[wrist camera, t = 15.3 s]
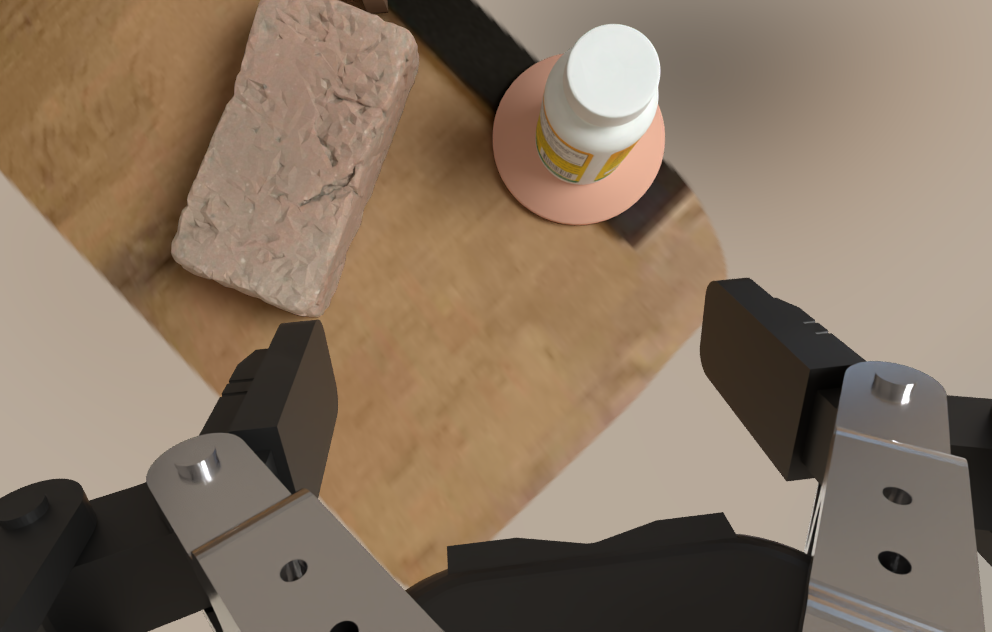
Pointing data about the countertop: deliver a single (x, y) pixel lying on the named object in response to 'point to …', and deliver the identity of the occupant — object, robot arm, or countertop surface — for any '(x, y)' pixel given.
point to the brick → (297, 152)
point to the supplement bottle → (597, 103)
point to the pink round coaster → (542, 187)
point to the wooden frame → (376, 6)
